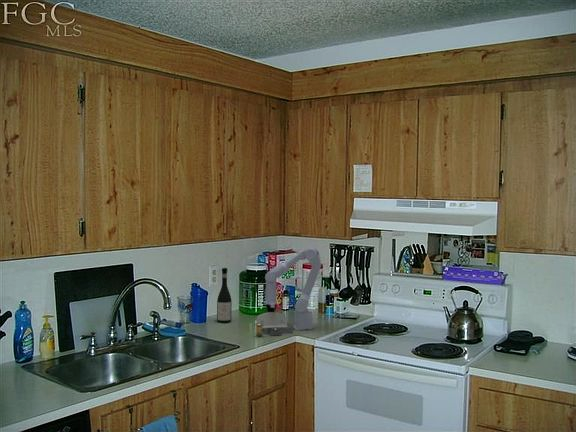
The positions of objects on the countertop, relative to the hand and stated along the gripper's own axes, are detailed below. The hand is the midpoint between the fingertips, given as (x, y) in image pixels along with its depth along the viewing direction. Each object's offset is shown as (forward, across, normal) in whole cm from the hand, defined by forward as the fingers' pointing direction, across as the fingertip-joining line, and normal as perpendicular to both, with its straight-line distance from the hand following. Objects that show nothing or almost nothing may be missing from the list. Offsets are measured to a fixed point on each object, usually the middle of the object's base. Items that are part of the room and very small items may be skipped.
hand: (270, 318), depth 300 cm
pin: (+5, +18, -8) cm, 20 cm away
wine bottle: (+5, -15, -24) cm, 29 cm away
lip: (+5, +16, 0) cm, 17 cm away
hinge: (+5, +6, 0) cm, 7 cm away
